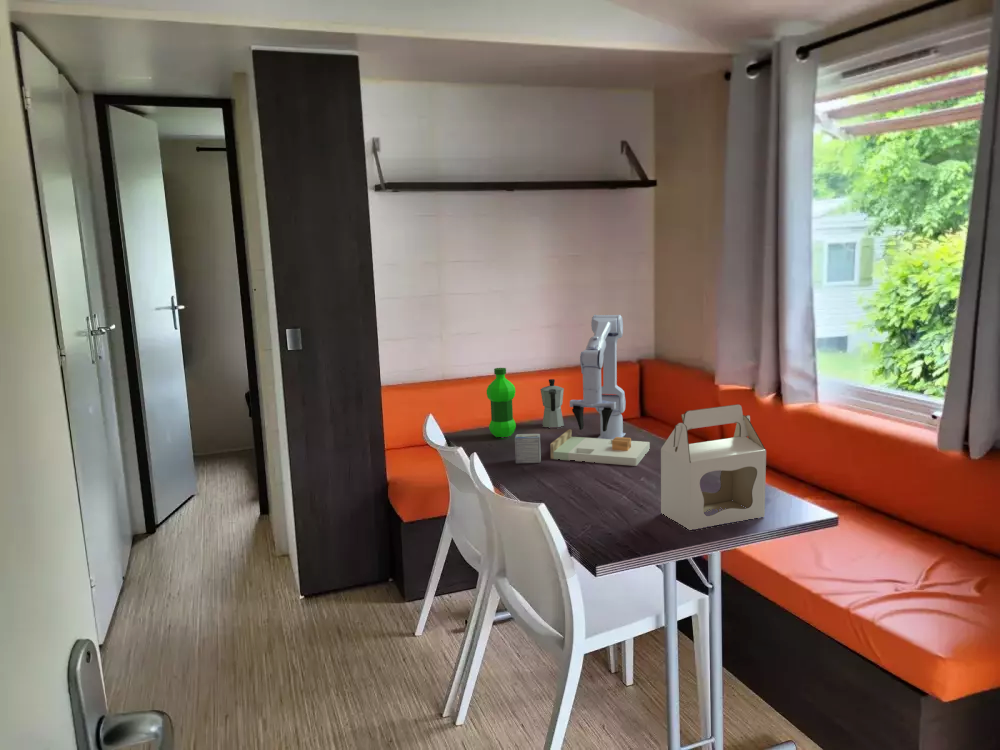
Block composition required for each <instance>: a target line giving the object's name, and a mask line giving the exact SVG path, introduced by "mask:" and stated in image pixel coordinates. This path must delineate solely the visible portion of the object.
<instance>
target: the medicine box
mask: <svg viewBox="0 0 1000 750" xmlns="http://www.w3.org/2000/svg"><path fill="white" fill-rule="evenodd" d="M514 449H515V450H514V452H515V464H540V463H541V461H542V457H541V456H542V454H541V453H542V451H541V434H540V433H519V434H518V433H517V434H515V436H514Z"/></svg>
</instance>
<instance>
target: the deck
mask: <svg viewBox="0 0 1000 750" xmlns="http://www.w3.org/2000/svg"><path fill="white" fill-rule="evenodd" d="M572 431H573V430H572V429H567V430H566V431H565V432H564V433H562V434H561V435H560V436H559V437H557V438H556V439H554V440H552V442H551V443H550V447H549V448H550V459H551V460H558V459H560V460H561V461H570V460H575V461H574V462H582V461H585V463H594V462H595V463H597V464H608V465H609V464H610V465H619V466H630V467H631V466H632V467H633V466H634V467H636V466H638V465H639V463H640V462H641V461H642V459H644V457H645V456H646V455H647V454H648V452H649V451H650V450H649V449H651V448H650V447H651V446H650V444H651V443H650V441H640V440H631V447H630V449H629V450H628V451H624V450H612V440H613V439H599V438H598V437H583V436H573V435H572V434H573V433H572ZM645 454H646V455H645ZM560 460H559V461H560Z"/></svg>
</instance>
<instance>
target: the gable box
mask: <svg viewBox="0 0 1000 750" xmlns="http://www.w3.org/2000/svg"><path fill="white" fill-rule="evenodd" d="M680 417H681V419H682V422H678V423H677V424H675V425H674V429H673V430H672V432H671V433H670V435H669V436H668V438H667V439H666V441H665V442H664V444H663V445H662V446H661V448H660V514H661V513H662V514H661V515H663V514H664V515H665V516H664V515H663V516H664V517H666V516H667V517H668V518H667V517H666V518H667V519H669V518H670V519H669V520H671V519H672V520H674V521H676V522H678V523H679V524H681V525H683V526H684V527H686V528H687V529H689V530H692V529H698V528H703V527H707V526H714V525H719V524H724V523H730V522H736V521H743V520H748V519H753V520H755V519H754V518H758V519H760V518H759V517H764V516H766V515H765V514H766V510H765V509H766V476H767V475H766V473H767V472H766V470H767V467H766V466H767V449H766V448H765V445H764V444H763V442H762V440H761V438H760V437H759V435H758V433H757V432H756V430H755V428H754V426H753V424H752V422H751V415H749V414H748V415H745V414H744V413H743V407H742V405H740V404H737V403H736V404H730V405H723V406H715V407H706V408H700V409H699V408H698V409H693V410H686V411H685V412H684V413H682V414H681V415H680ZM728 424H736V425H735V430H734V433H733V437H728V438H721V439H714V440H707V441H700V442H694V443H689V435H688V433H689V432H688V431H689V430H690V431H691V430H692V429H698V428H699V429H700V428H705V427H706V428H708V427H713V426H720V425H728ZM717 471H721V472H720V475H719V481H720V488H719V489H718V491H716V492H708V491H703V490H702V489H701V479H702V477H703V476H704V475H706V474H707V473H711V472H717ZM732 500H733V501H732ZM741 505H742V506H741ZM743 506H744V507H743ZM720 507H721V508H722V509H723V510H722V509H721V508H720ZM745 507H746V508H745ZM725 508H726V509H725ZM709 509H710V510H711V511H712V509H714V510H715V509H717V510H718V512H717V513H715V514H713V515H710V516H706V515H705V514H704V512H706V511H707V510H708V511H710V510H709ZM719 509H721V511H719ZM708 511H707V512H708ZM711 511H710V512H711ZM715 511H716V510H715ZM764 518H765V517H764ZM672 520H671V521H672ZM674 521H673V522H674ZM748 521H749V520H748ZM743 522H744V521H743ZM679 524H678V525H679ZM684 527H683V528H684ZM687 529H686V530H687Z"/></svg>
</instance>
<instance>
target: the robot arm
mask: <svg viewBox="0 0 1000 750" xmlns="http://www.w3.org/2000/svg"><path fill="white" fill-rule="evenodd" d="M623 321H624V319H623V316H621V314H593V315H592V317H591V321H590V323H591V324H590V326H591V331H592V333H594V334H593V336H591V337H590V338H589V339H588V342H587V345H586V348H585V349H584V350H583V351H581V353H580V356H579V364H580V368H581V370H580V371H581V372H580V373H581V374H582V391H583V392H582V394H583V395H582V397H583V398H582V399H571V400H569V408H572V410H571V411H572V413H573V415H574V417H575V419H576V421H577V424H578V429H579V430H580V431H582V430H584V424H585V423H584V412H585V408H589V409H590V408H592V409H595V410H596V412H598V414H599V417H600V418H599V420H600V423H599V425H600V430H599V431H600V435H598V437H597V438H599V439H614V438H615V437H625V435H626V432H624V424H623V423H624V421H623V419H624V418H623V415H622V414H623V413H624V412H625V410H626V403H627V402H626V395H625V390H623V388H622V387H620V386H618V383H617V382H618V380H617V379H618V377H617V376H618V375H617V374H618V372H617V371H618V370H617V367H618V366H617V362H618V361H617V357H618V356H617V355H618V353H617V352H618V350H617V347H618V346H617V345H618V340H619V339H621V338H623V334H624V322H623ZM602 368H603V369H602ZM602 371H603V372H602ZM602 373H603V375H602ZM602 377H603V379H602ZM602 380H603V381H602ZM602 382H603V383H602ZM602 384H603V385H602Z"/></svg>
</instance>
